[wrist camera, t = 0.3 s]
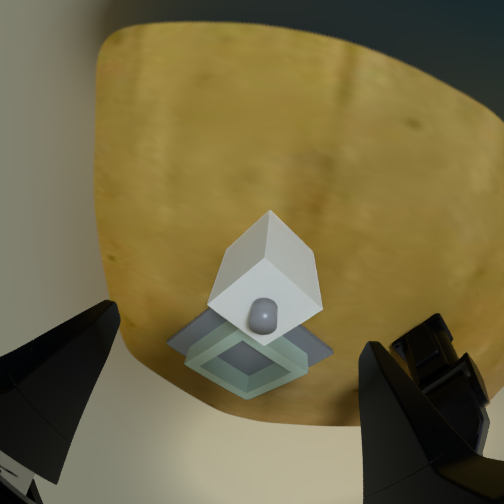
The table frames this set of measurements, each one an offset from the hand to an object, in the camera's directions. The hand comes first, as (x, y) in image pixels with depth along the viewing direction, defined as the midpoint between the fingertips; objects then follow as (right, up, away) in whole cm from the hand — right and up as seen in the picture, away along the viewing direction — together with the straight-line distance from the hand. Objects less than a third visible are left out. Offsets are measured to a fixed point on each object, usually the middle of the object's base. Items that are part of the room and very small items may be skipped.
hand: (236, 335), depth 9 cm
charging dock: (0, -7, +20) cm, 21 cm away
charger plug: (+2, +3, +14) cm, 14 cm away
